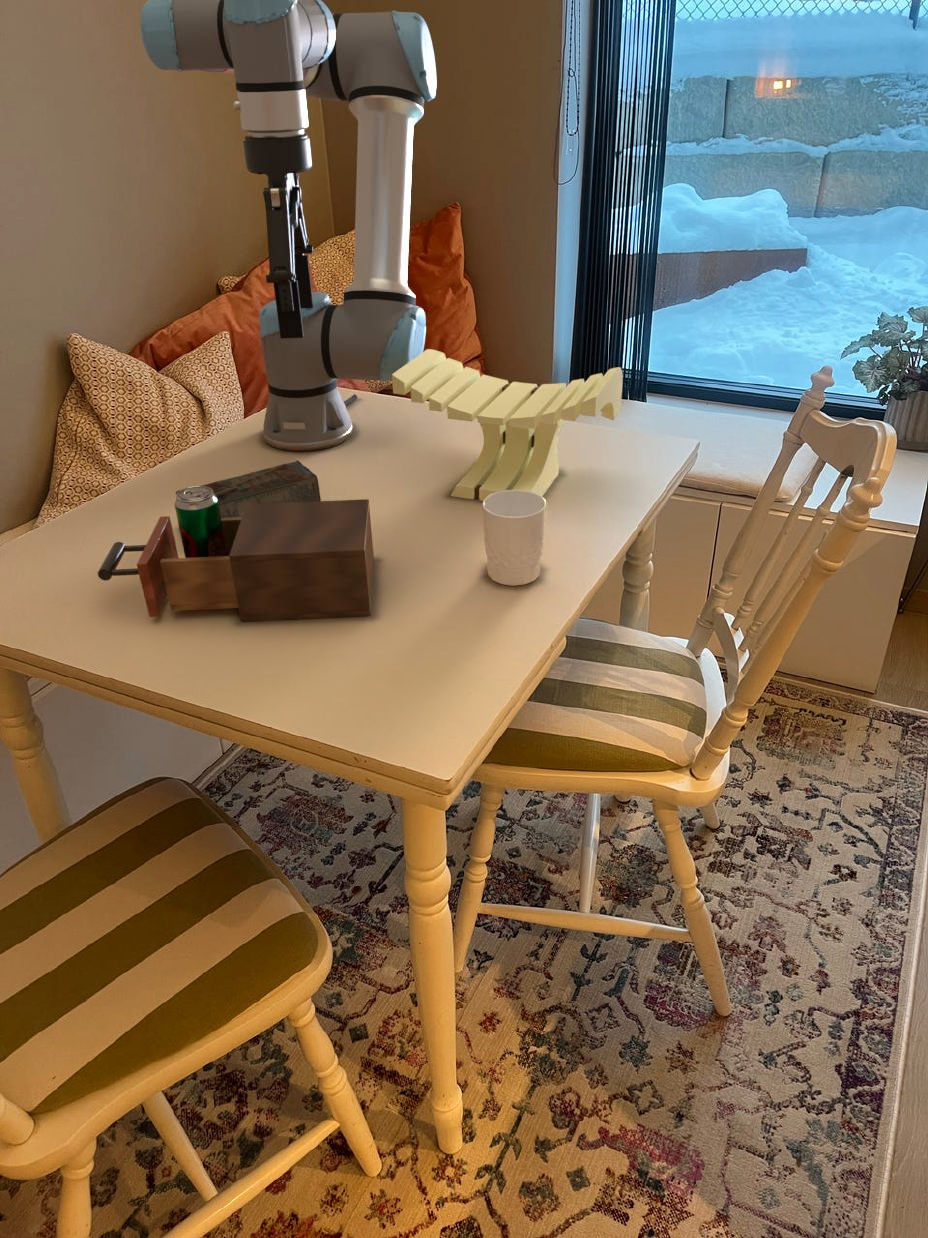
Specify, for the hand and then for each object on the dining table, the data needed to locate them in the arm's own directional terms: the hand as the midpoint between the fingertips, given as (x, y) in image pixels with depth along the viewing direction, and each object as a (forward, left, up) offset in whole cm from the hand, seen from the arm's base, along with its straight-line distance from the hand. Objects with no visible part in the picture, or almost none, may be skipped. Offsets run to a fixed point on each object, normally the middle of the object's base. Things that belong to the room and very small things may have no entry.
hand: (297, 322), depth 118 cm
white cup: (+16, +26, -29) cm, 42 cm away
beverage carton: (-2, -10, -29) cm, 31 cm away
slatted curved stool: (-12, +28, -29) cm, 42 cm away
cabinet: (+18, 0, -29) cm, 34 cm away
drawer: (+18, -14, -28) cm, 36 cm away
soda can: (+18, -12, -27) cm, 35 cm away
